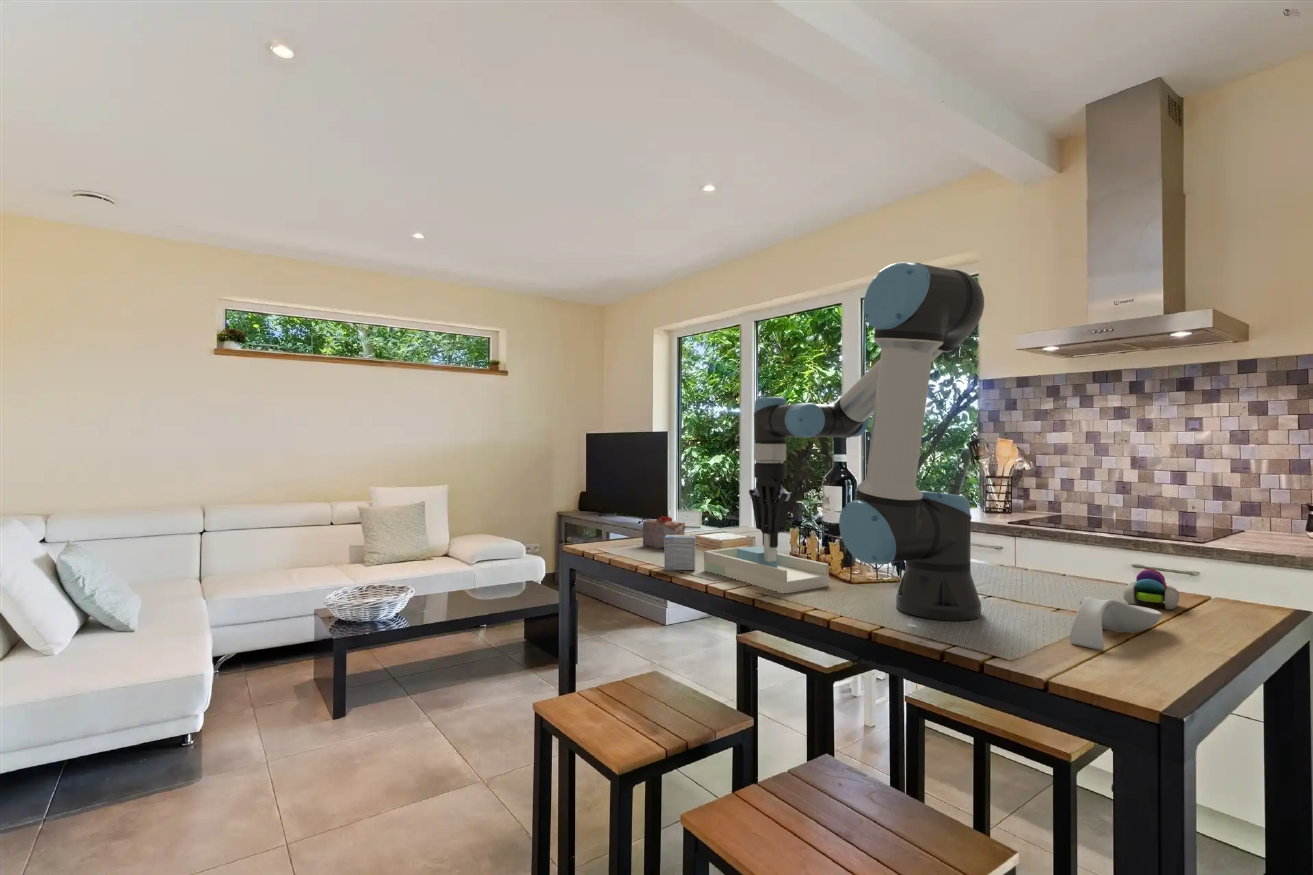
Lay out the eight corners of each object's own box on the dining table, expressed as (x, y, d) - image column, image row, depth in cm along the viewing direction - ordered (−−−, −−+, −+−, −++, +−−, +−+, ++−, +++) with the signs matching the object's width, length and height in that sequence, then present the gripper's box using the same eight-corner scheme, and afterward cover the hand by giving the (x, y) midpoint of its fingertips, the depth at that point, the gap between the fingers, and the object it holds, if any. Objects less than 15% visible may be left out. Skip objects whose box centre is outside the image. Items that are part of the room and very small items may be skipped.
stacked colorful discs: (1180, 604, 128) (1180, 568, 128) (1176, 614, 121) (1176, 576, 121) (1128, 597, 134) (1128, 563, 134) (1121, 606, 127) (1121, 570, 127)
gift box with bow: (688, 547, 197) (688, 516, 197) (674, 551, 190) (674, 518, 190) (654, 543, 205) (654, 513, 205) (638, 546, 199) (638, 515, 199)
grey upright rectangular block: (695, 568, 165) (695, 534, 165) (694, 571, 160) (694, 537, 161) (665, 567, 166) (665, 534, 166) (664, 570, 161) (664, 537, 161)
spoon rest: (1091, 615, 120) (1091, 578, 120) (1169, 629, 111) (1169, 589, 111) (1046, 641, 105) (1046, 598, 105) (1133, 659, 96) (1132, 612, 96)
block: (777, 567, 152) (777, 551, 153) (758, 570, 149) (758, 553, 149) (755, 562, 159) (755, 546, 159) (736, 564, 156) (736, 548, 156)
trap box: (828, 586, 144) (828, 564, 144) (783, 594, 136) (783, 570, 136) (746, 565, 168) (746, 546, 168) (704, 570, 161) (703, 551, 161)
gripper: (801, 462, 147) (801, 563, 147) (763, 460, 158) (763, 554, 158) (777, 463, 143) (777, 567, 143) (740, 461, 154) (740, 557, 154)
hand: (770, 560), depth 150 cm, fingers closed
